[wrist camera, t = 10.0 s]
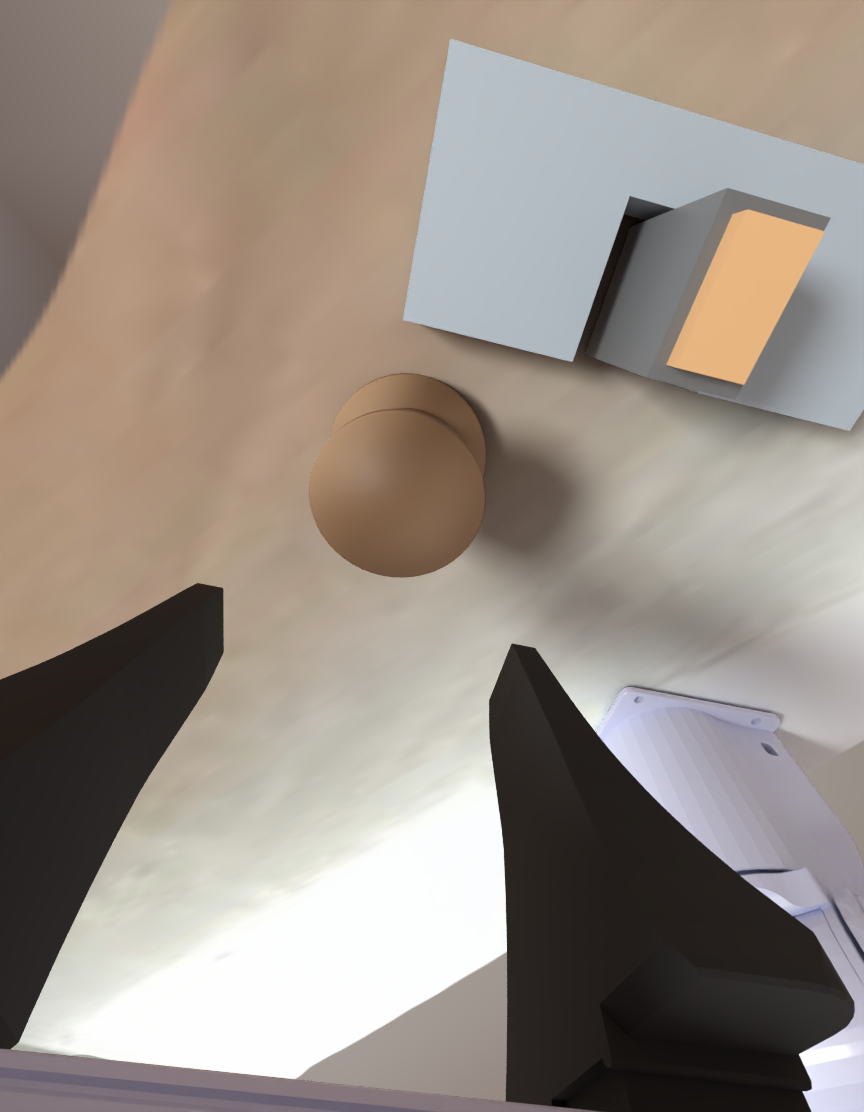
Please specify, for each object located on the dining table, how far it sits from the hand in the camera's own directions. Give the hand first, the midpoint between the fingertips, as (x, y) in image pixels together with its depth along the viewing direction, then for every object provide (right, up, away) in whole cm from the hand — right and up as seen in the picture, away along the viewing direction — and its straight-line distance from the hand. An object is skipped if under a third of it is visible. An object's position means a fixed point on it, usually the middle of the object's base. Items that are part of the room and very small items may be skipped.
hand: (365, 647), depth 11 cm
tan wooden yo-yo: (+1, +7, +8) cm, 10 cm away
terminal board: (+9, +12, +4) cm, 16 cm away
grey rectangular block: (+9, +11, +5) cm, 15 cm away
